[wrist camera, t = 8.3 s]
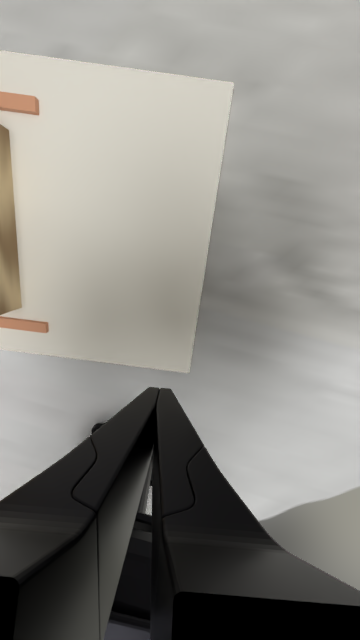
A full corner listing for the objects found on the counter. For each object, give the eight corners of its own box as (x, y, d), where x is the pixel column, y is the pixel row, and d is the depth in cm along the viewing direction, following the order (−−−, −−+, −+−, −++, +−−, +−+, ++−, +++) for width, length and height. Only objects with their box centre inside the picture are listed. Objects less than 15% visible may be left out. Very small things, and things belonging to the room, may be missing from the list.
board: (189, 370, 20) (189, 375, 20) (-155, 326, 20) (-170, 330, 19) (232, 88, 15) (235, 77, 14) (-250, 21, 14) (-278, 7, 13)
